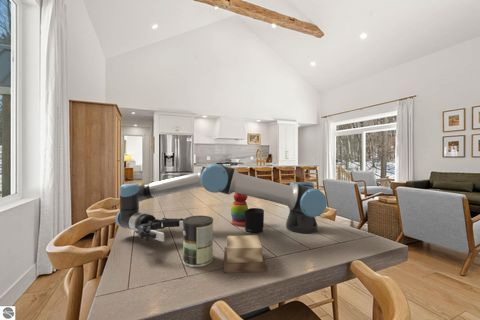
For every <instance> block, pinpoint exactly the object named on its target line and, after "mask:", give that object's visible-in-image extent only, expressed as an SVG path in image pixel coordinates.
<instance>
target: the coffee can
mask: <svg viewBox="0 0 480 320" xmlns="http://www.w3.org/2000/svg"><path fill="white" fill-rule="evenodd" d="M182 219H183V228H182V229H183V230H182V263H183V264H184V265H185V266H188V267H190V268H201V267H205V266H207V265H209V264H211V263H212V262H213V260H214V257H213V256H214V254H213V253H214V252H213V251H214V249H213V243H214V242H213V241H214V240H213V239H214V233H213V232H214V229H213V227H214V225H213V222H214V218H213V217H212V216H209V215H191V216H188V217H185V218H182Z"/></svg>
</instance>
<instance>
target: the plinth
mask: <svg viewBox="0 0 480 320" xmlns="http://www.w3.org/2000/svg"><path fill="white" fill-rule="evenodd" d="M226 237H227V239H226V244H227V246H225V247H224V250H223V251H224V253H223V254H224V256H223V273H225V274H227V273H228V274H229V273H256V272H257V273H258V272H259V273H261V272H267V261H266V259H265V256H264V254H263V246H262V243H261V241H260V238H259V235H258V234H253V235H251V234H250V235H248V234H246V235H227V236H226Z"/></svg>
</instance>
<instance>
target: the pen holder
mask: <svg viewBox="0 0 480 320" xmlns="http://www.w3.org/2000/svg"><path fill="white" fill-rule="evenodd" d="M244 212H245V227H244V228H245V232H247V233H249V234H253V235H257V234H261V233H262V232H264V220H265V217H264V216H265V211H264V209H263V208H260V207H250V208H248V210H246V211H244Z"/></svg>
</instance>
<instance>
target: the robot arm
mask: <svg viewBox="0 0 480 320" xmlns="http://www.w3.org/2000/svg"><path fill="white" fill-rule="evenodd" d="M198 188H204V189H205V190H206V191H207V192H210V193H213V194H217V193H221V194H225V195H232V194H233V193H239V194H243V195H247V196H248V197H252V198H257V199H260V200H263V201H268V202H272V203H276V204H281V205H284V206H287V207H288V209H289V212H288V216H287V219H286V223H285V228H286V229H287V230H288V231H291V232H294V233H301V234H312V233H315V232H317V231H318V223H317V219H316V217H319V216H321V215H322V214H324V212H325V211H326V210H327V205H328V199H327V196H326V195H325V193H324V192H323V191H321V190H320V189H318V188H315V185H314V183H313V182H311V181H309V182H307V181H305V182H304V181H302V182H301V181H299V182H298V181H297V182H290V183H289V184H284V183H282V182H281V183H279V182H275V181H271V180H268V179H264V178H260V177H256V176H251V175H248V174H243V173H239V172H238V171H237V169H236V168H233V167H229V166H226V165H224V164H221V163H212V164H208V165H207V166H206V167H205V168H200V170H199V171H197V172H193V173H188V174H184V175H180V176H176V177H172V178H168V179H163V180H159V181H153V182H150V183H144V184H141V185H139V184H138V183H124V184H121V185H120V186H119V211H118V212H117V214H116V215H115V224H117V226H119V227H121V228H123V229H124V228H125V229H128V230H132V231H135V233H136V234H137V235H138V238H139V240H144V239H145V241H150V239H152V240H156V241H159V242H165V232H162V231H157V230H162V229H165V228H180V229H183V219H184V218H169V217H168V218H167V217H163V218H162V219H157V218H156V217H155V216H154V215H153V214H148V213H144V212H140V202H143V201H145V200H150V199H155V198H158V197H163V196H167V195H171V194H175V193H176V194H177V193H180V192H184V191H190V190H194V189H198Z"/></svg>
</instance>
